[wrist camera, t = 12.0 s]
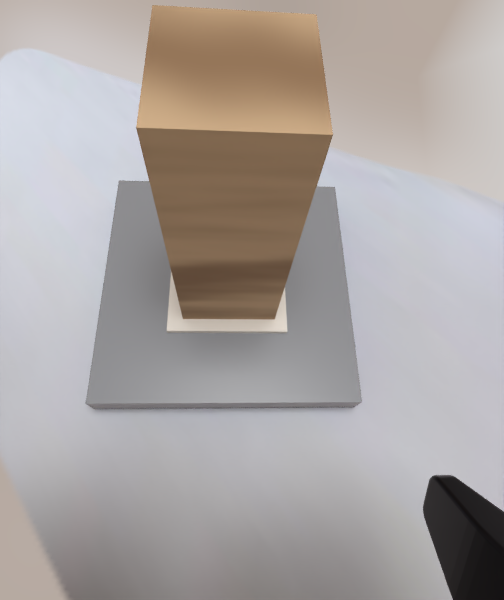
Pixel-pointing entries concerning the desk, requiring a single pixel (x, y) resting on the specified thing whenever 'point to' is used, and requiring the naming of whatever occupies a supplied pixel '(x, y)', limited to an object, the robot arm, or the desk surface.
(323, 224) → the baseplate
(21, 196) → the desk surface
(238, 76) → the oak block
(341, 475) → the desk surface
